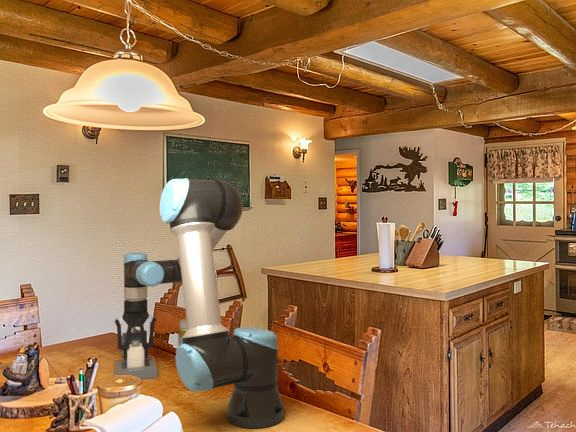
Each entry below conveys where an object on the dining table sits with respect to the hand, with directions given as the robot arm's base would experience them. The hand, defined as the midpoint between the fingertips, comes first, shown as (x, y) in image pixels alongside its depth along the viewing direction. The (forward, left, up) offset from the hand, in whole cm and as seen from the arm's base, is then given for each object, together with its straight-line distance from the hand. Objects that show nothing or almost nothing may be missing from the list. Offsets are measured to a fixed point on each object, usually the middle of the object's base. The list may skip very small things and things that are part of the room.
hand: (135, 368), depth 167 cm
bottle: (+7, -19, -2) cm, 20 cm away
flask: (+22, -1, -2) cm, 22 cm away
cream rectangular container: (0, 0, 0) cm, 0 cm away
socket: (0, 0, -2) cm, 2 cm away
